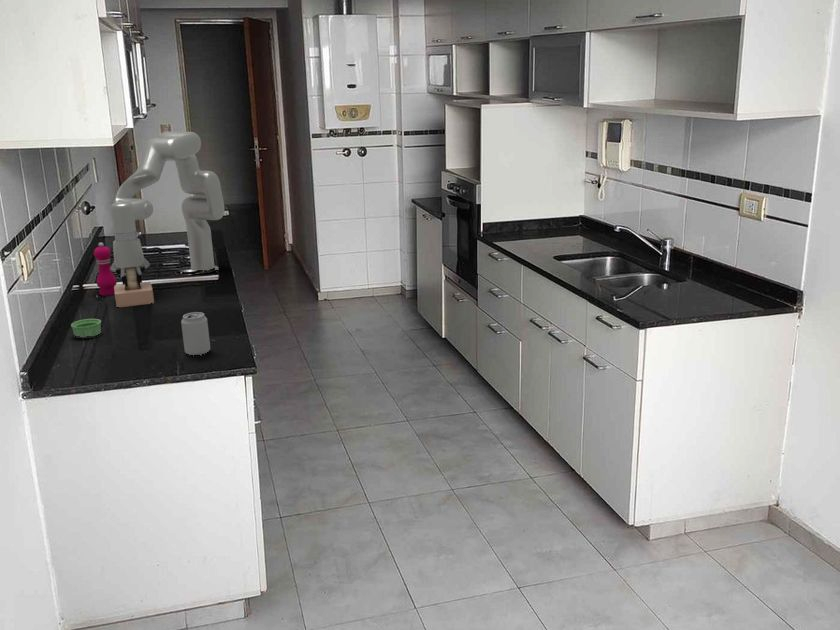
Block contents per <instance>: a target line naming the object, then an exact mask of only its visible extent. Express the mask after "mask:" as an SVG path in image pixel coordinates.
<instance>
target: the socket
mask: <svg viewBox="0 0 840 630" xmlns="http://www.w3.org/2000/svg"><path fill="white" fill-rule="evenodd" d="M138 286H139V285H138ZM114 291H115V294H114V299H115V305H116V308H117V307H119V308H125V307H126V308H128V307H134V306H142V305H143V306H144V305H151V303H152V304H155V299H154V298H155V297H154V291H153V286H152V283H151V281H146V282H142V283H140V286H139V289H136V290H127V287H125V285H123V284H121V285H119V284H118V285H115V286H114Z"/></svg>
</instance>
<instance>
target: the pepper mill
mask: <svg viewBox="0 0 840 630" xmlns="http://www.w3.org/2000/svg"><path fill="white" fill-rule="evenodd" d="M111 255H112V252H111V249H110V247H108V246H105V245H104V243H103V242H98V246H97V247H96V248H95V249H94V251H93V256H94V258H95V259H96V264H97V265H98V274H97V277H96V286H97V287H98V288H99V290H98V292H99V295H100V296H104V297H107V296H112V295H115V291H114V286H117V283H118V282H117V278H116V276H115V275H114V273H113V271H112V270H110V267H111V265H110V263H111V258H110V257H111Z"/></svg>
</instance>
